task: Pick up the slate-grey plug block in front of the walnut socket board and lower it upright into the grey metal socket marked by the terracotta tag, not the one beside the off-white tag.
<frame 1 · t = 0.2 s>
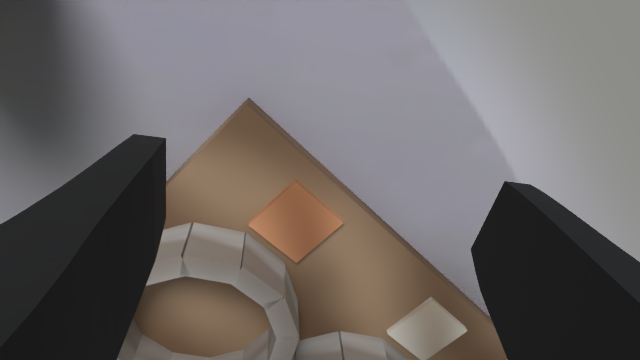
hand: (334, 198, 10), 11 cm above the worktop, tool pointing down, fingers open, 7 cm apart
socket board: (300, 316, 25), on the worktop
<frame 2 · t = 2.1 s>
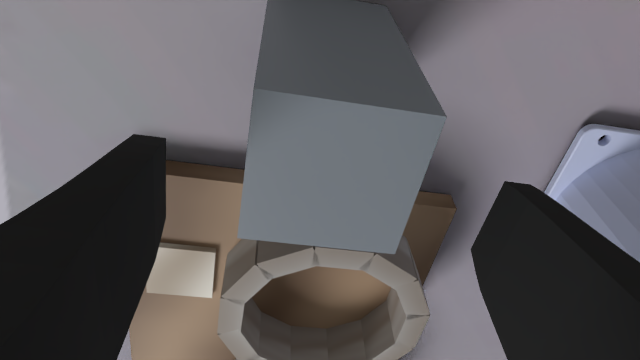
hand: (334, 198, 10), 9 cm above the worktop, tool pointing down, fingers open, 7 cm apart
socket board: (267, 324, 26), on the worktop
plug: (318, 52, 17), on the worktop
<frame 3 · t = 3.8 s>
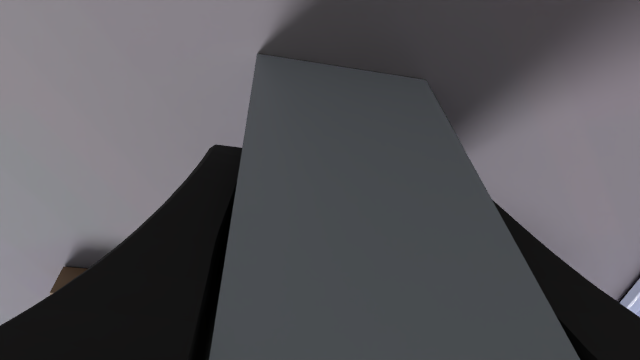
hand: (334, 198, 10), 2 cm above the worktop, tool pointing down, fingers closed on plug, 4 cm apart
plug: (327, 140, 12), on the worktop, touching gripper
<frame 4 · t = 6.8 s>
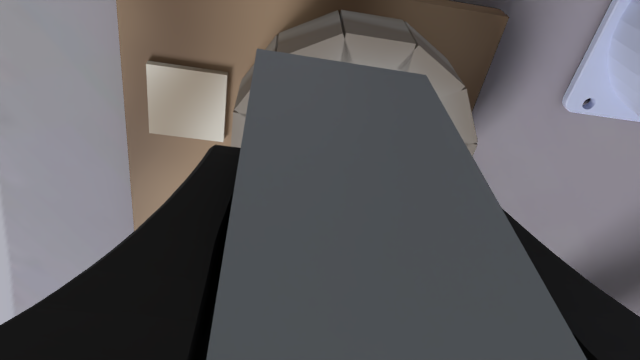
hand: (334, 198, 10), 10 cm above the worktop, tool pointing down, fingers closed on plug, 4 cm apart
socket board: (286, 193, 23), on the worktop
plug: (327, 136, 12), point 8 cm above the worktop, touching gripper
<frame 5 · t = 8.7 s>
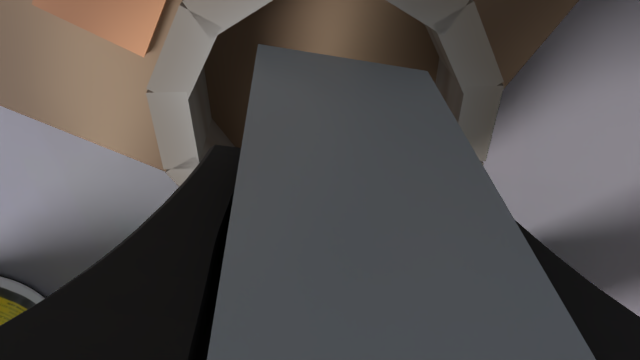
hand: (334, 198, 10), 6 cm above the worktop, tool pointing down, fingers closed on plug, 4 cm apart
supplement bottle: (1, 307, 22), on the worktop
plug: (328, 132, 12), point 4 cm above the worktop, touching gripper
when the fingers open (4 cm above the worktop, at t = 10.0 s): plug stays where it is, resting on socket board.
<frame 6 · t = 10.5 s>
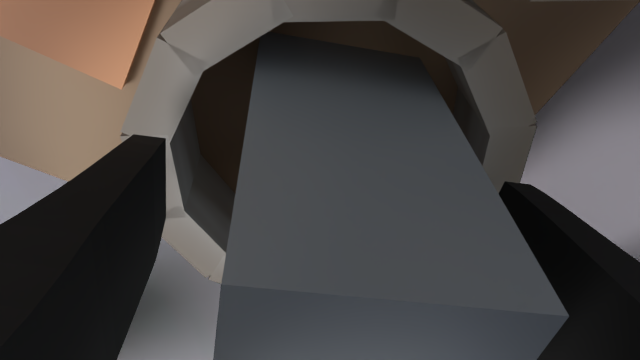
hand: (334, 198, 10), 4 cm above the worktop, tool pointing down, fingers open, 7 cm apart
plug: (326, 115, 13), point 1 cm above the worktop, touching socket board
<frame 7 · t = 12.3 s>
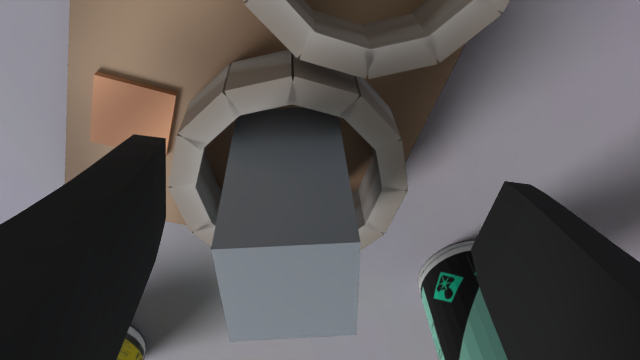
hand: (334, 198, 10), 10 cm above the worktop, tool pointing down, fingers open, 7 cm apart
socket board: (274, 26, 18), on the worktop
supplement bottle: (103, 338, 29), on the worktop
spray can: (464, 272, 27), on the worktop
plug: (289, 150, 20), point 1 cm above the worktop, touching socket board
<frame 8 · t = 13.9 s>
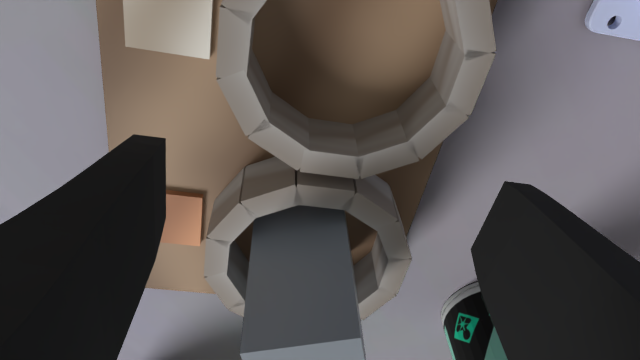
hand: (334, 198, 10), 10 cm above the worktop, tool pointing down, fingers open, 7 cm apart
socket board: (279, 129, 21), on the worktop
spray can: (484, 307, 29), on the worktop
plug: (305, 227, 23), point 1 cm above the worktop, touching socket board
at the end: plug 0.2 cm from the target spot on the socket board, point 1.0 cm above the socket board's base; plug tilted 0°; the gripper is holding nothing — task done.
